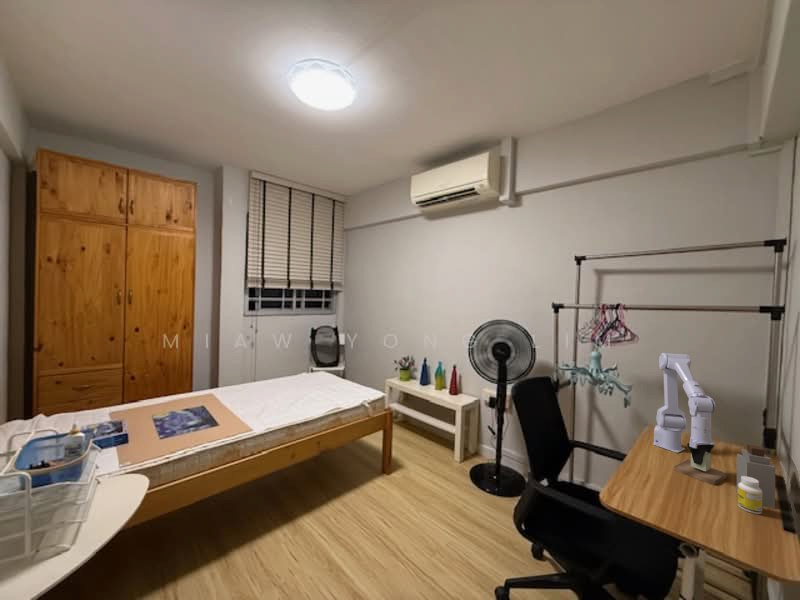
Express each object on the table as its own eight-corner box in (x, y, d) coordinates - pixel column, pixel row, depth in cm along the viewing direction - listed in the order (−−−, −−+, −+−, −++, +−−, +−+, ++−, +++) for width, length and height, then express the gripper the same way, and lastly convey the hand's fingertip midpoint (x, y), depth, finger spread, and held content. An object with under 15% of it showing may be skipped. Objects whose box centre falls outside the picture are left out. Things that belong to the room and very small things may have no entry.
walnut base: (674, 470, 129) (674, 466, 129) (687, 463, 135) (687, 459, 135) (714, 485, 118) (714, 481, 118) (727, 477, 124) (727, 473, 124)
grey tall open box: (736, 491, 115) (737, 441, 115) (762, 497, 112) (763, 445, 112) (746, 502, 108) (747, 449, 108) (774, 508, 105) (775, 453, 106)
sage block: (690, 466, 127) (690, 450, 127) (695, 463, 129) (695, 448, 129) (705, 471, 123) (705, 455, 123) (710, 468, 125) (710, 453, 125)
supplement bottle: (736, 501, 109) (736, 472, 109) (760, 508, 105) (760, 478, 105) (739, 509, 104) (739, 479, 104) (764, 517, 101) (764, 485, 101)
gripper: (706, 435, 119) (706, 471, 119) (722, 428, 126) (721, 462, 126) (682, 428, 126) (682, 463, 126) (698, 422, 133) (698, 454, 133)
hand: (700, 462), depth 126 cm, fingers closed on sage block, 4 cm apart
